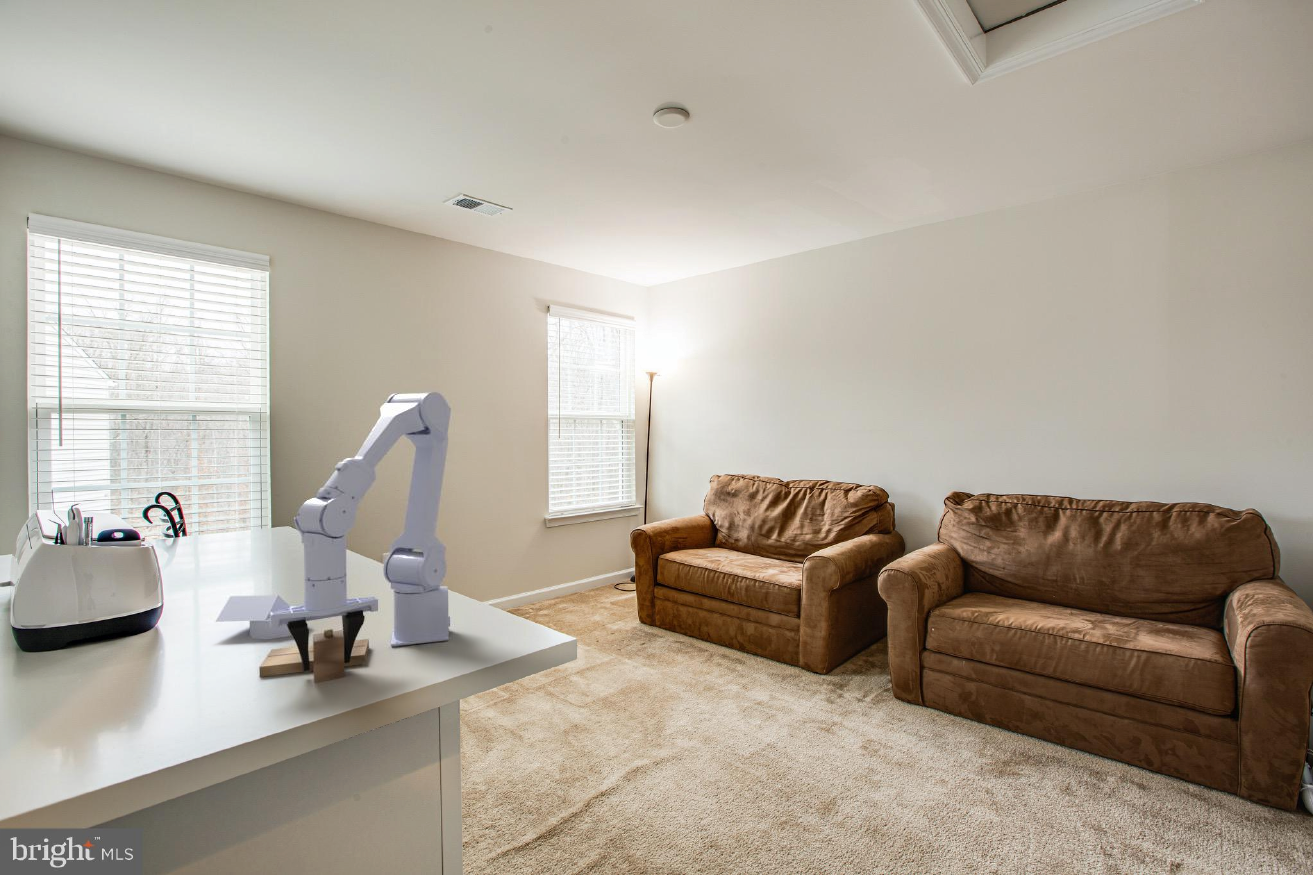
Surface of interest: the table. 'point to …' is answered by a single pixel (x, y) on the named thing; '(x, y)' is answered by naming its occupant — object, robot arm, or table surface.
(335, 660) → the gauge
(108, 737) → the table surface
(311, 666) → the board
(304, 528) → the robot arm
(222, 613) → the wedge on round base
